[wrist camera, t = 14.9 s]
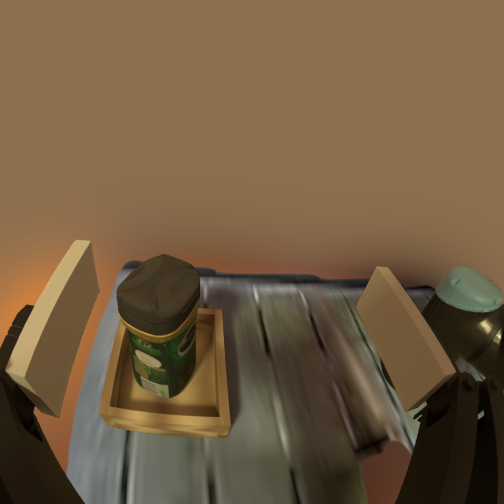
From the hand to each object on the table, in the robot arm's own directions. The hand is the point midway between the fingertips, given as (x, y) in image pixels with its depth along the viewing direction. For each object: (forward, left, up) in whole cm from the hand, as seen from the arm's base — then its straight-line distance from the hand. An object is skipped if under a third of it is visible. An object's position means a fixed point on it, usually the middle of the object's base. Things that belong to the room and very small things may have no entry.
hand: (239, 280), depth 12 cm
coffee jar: (+5, -13, -29) cm, 32 cm away
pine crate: (+5, -13, -30) cm, 33 cm away
